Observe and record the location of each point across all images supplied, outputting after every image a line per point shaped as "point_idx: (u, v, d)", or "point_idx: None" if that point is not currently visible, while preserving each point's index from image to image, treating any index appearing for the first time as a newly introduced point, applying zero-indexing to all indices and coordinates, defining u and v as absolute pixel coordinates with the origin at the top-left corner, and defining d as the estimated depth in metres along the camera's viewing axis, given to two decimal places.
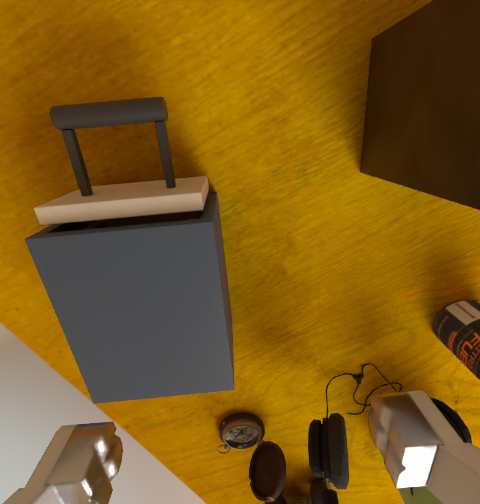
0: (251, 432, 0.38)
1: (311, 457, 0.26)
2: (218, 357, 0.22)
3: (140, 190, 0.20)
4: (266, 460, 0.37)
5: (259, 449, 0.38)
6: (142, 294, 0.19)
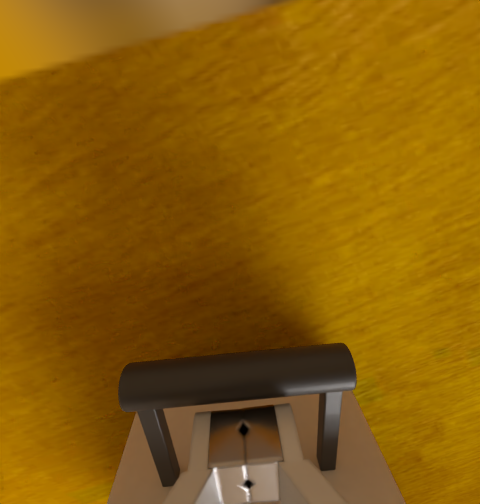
0: None
1: None
2: None
3: None
4: None
5: None
6: None
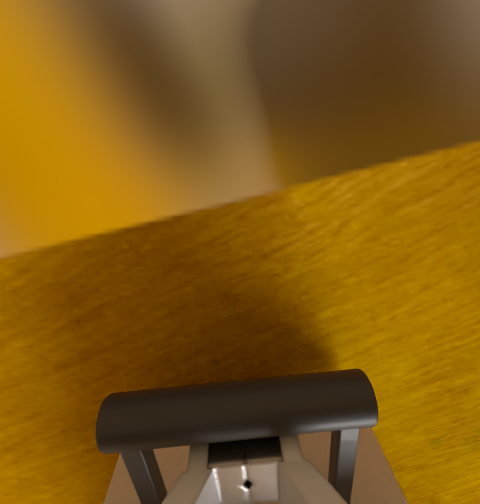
0: None
1: None
2: None
3: None
4: None
5: None
6: None
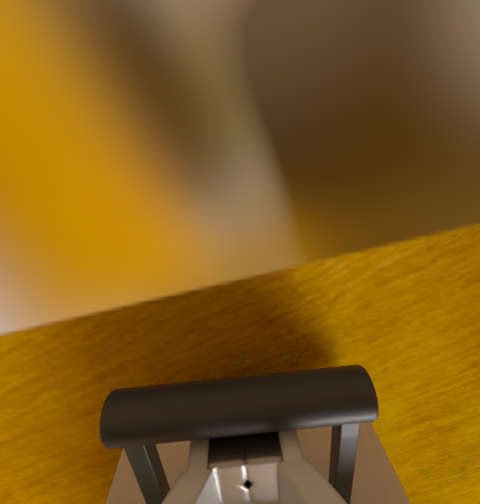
0: None
1: None
2: None
3: (274, 503, 0.10)
4: None
5: None
6: None
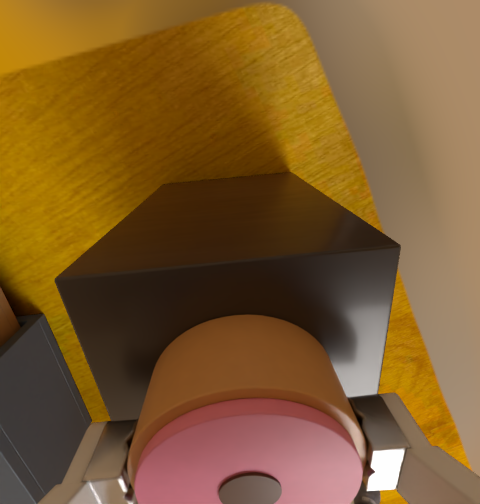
0: None
1: None
2: (18, 495, 0.22)
3: None
4: None
5: None
6: None
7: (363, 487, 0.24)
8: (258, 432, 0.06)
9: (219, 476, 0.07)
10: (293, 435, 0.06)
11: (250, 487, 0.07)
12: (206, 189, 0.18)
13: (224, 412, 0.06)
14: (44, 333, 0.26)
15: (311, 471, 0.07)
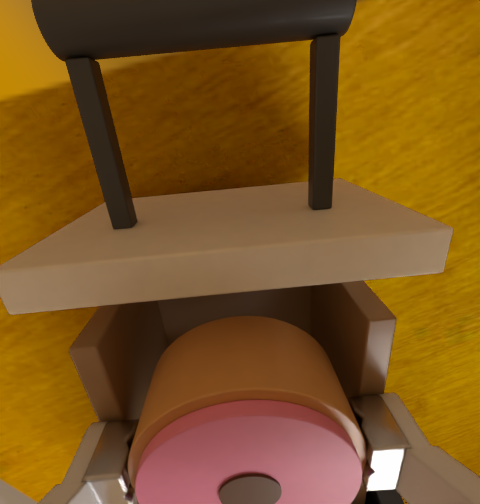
0: None
1: None
2: None
3: (248, 214, 0.09)
4: None
5: None
6: None
7: None
8: (258, 433, 0.06)
9: (219, 477, 0.07)
10: (293, 436, 0.06)
11: (250, 488, 0.07)
12: None
13: (224, 413, 0.06)
14: None
15: (311, 471, 0.07)
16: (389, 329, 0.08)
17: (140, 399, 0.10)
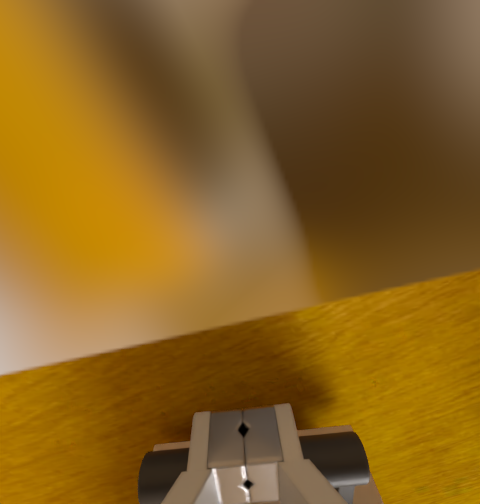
0: None
1: None
2: None
3: None
4: None
5: None
6: None
7: None
8: None
9: None
10: None
11: None
12: None
13: None
14: None
15: None
16: None
17: None
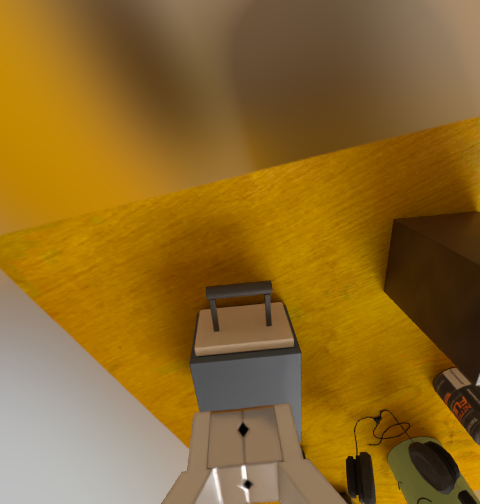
0: None
1: (349, 485, 0.38)
2: None
3: (249, 326, 0.32)
4: None
5: None
6: (252, 390, 0.31)
7: None
8: None
9: None
10: None
11: None
12: (448, 226, 0.30)
13: None
14: None
15: None
16: None
17: None
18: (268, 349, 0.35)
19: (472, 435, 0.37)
